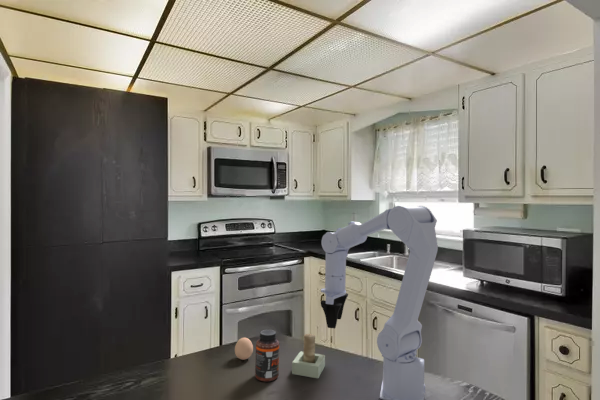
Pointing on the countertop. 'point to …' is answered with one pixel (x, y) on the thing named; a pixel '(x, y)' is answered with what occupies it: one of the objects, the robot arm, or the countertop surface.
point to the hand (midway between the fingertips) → (334, 323)
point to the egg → (243, 348)
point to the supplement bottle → (267, 356)
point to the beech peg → (309, 348)
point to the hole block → (308, 366)
